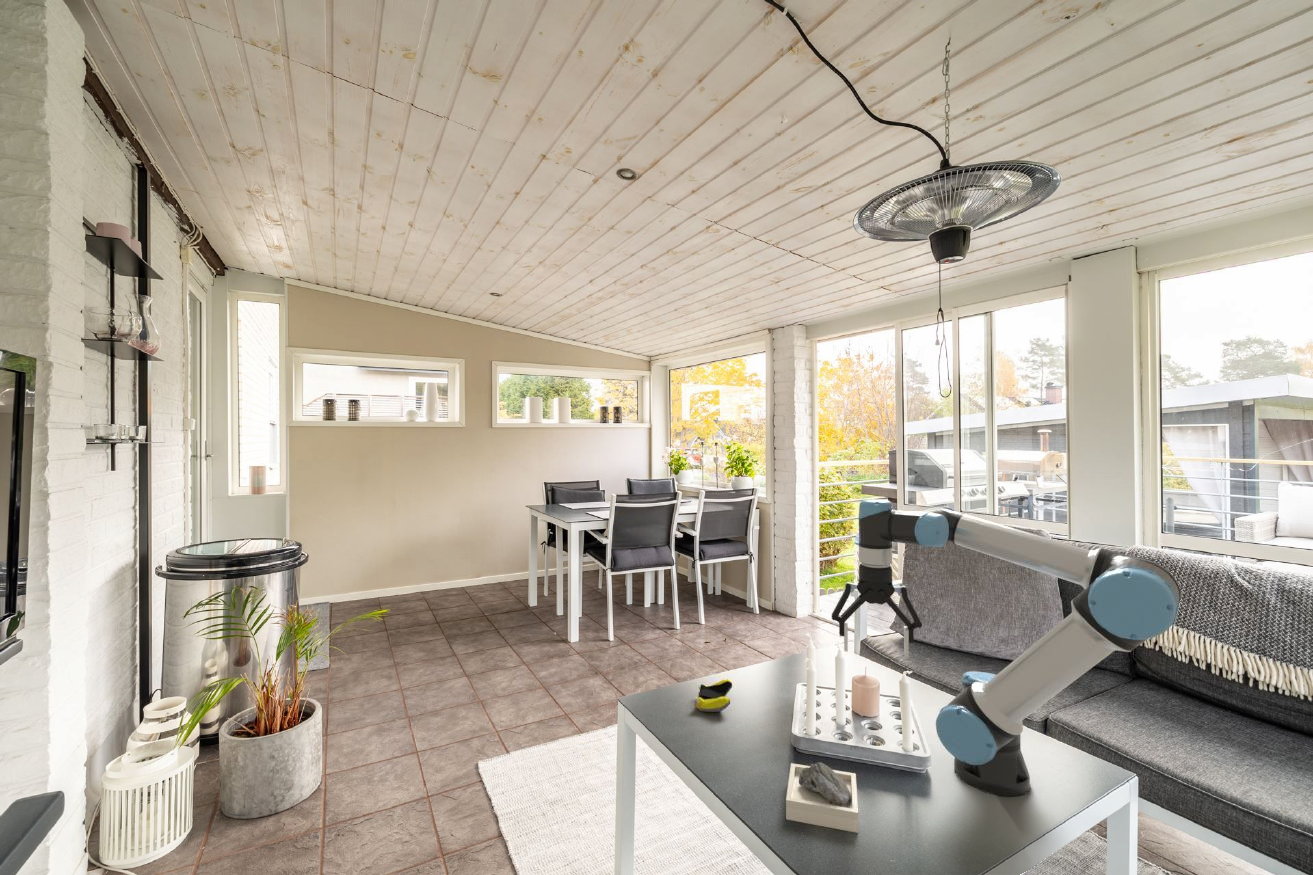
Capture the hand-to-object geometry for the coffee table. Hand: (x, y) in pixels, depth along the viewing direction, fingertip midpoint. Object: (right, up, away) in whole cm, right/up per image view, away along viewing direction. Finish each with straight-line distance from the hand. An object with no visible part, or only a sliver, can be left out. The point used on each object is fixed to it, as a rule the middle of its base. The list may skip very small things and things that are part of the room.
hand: (875, 652), depth 139 cm
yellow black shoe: (-36, -27, +31) cm, 54 cm away
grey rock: (-17, -25, -16) cm, 34 cm away
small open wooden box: (-17, -27, -16) cm, 35 cm away
